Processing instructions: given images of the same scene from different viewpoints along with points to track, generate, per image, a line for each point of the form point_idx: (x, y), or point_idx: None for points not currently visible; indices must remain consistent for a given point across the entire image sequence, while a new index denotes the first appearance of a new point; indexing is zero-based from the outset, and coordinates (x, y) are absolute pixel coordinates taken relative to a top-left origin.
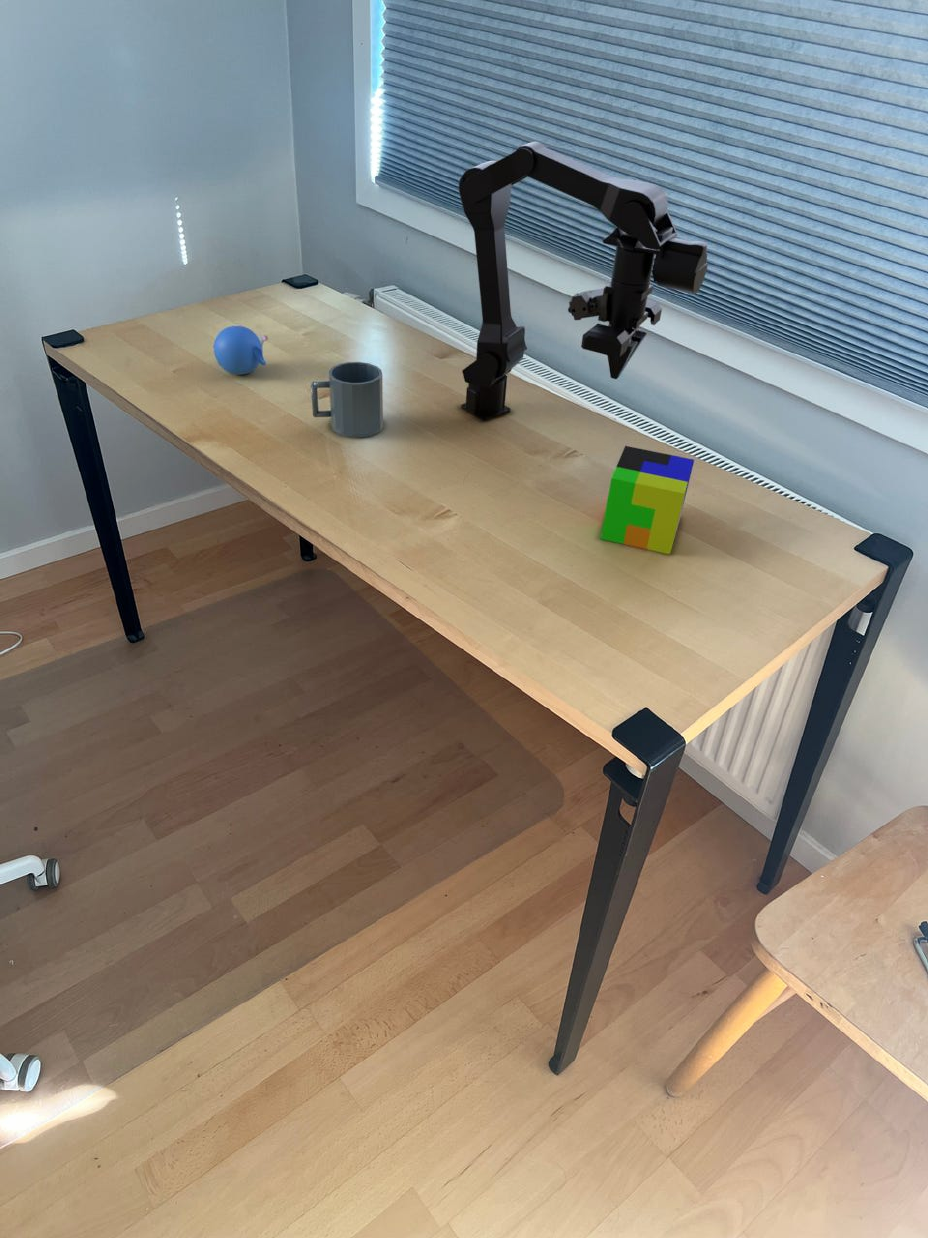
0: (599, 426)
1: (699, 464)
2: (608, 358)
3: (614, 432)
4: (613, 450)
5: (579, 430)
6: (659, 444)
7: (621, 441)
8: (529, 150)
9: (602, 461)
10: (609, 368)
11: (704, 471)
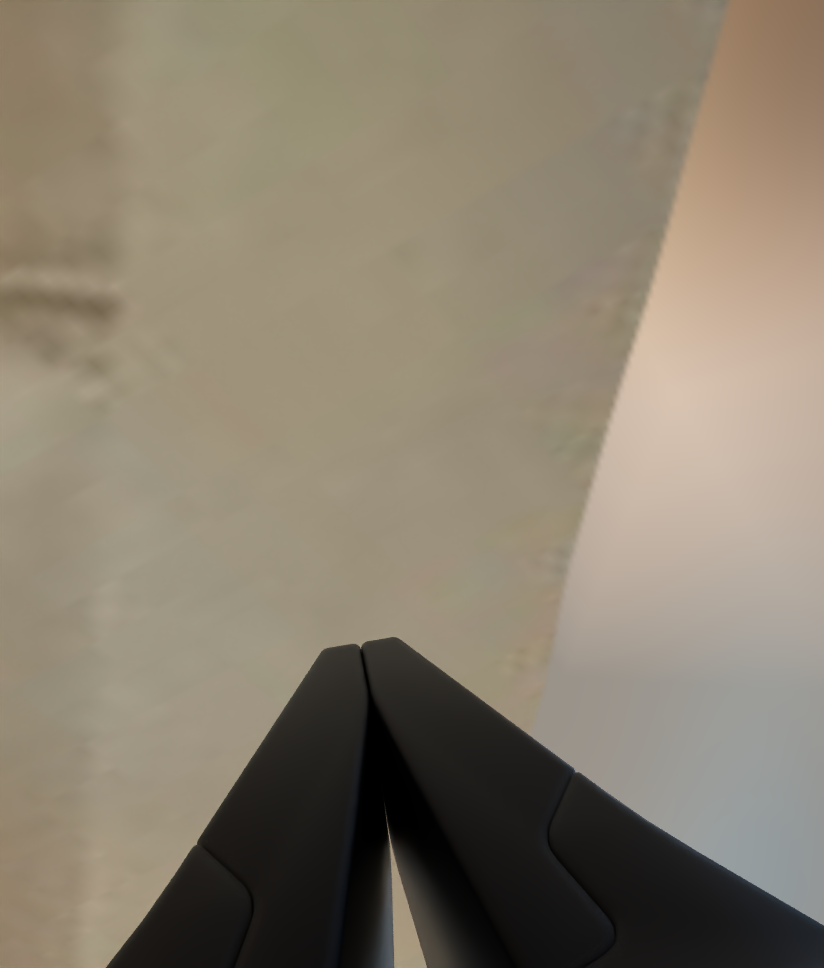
0: (540, 258)
1: None
2: (181, 878)
3: (524, 380)
4: (303, 494)
5: (396, 171)
6: (548, 643)
7: (442, 472)
8: None
9: (126, 514)
10: (272, 727)
11: None
